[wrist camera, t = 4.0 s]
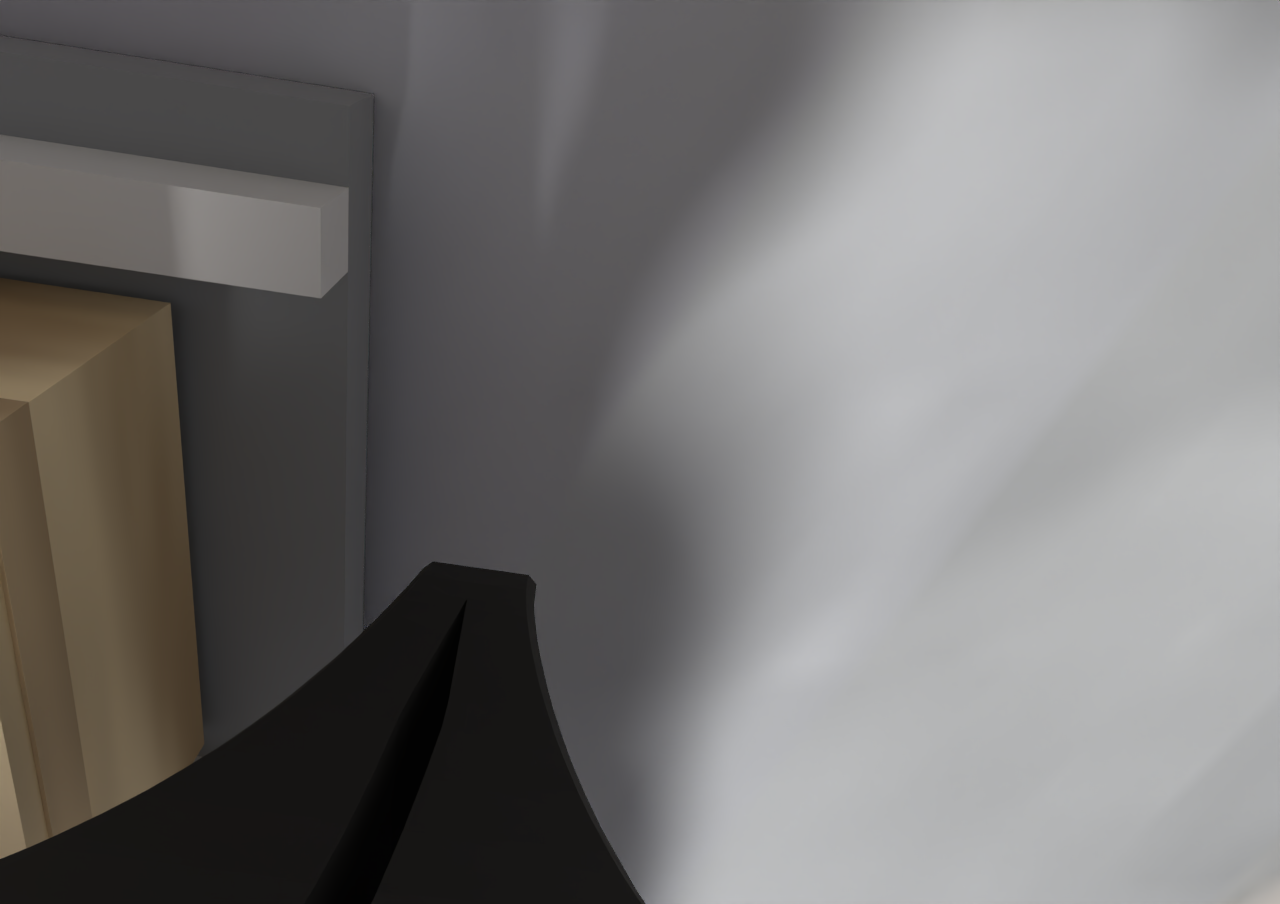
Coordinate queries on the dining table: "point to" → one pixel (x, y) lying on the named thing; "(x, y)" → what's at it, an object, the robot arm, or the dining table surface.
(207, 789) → the robot arm
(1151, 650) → the dining table surface
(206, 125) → the bay
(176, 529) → the crate
